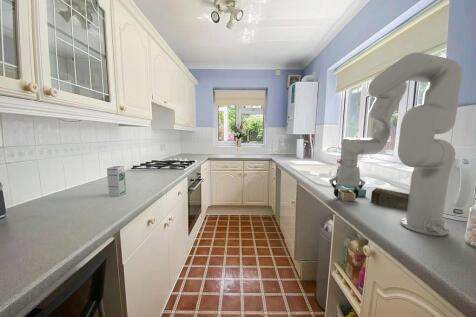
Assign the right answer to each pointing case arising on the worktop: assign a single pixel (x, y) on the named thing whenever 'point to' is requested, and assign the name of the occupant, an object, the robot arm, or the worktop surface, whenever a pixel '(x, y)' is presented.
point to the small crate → (346, 195)
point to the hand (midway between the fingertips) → (345, 196)
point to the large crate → (361, 192)
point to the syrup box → (116, 181)
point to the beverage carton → (390, 198)
